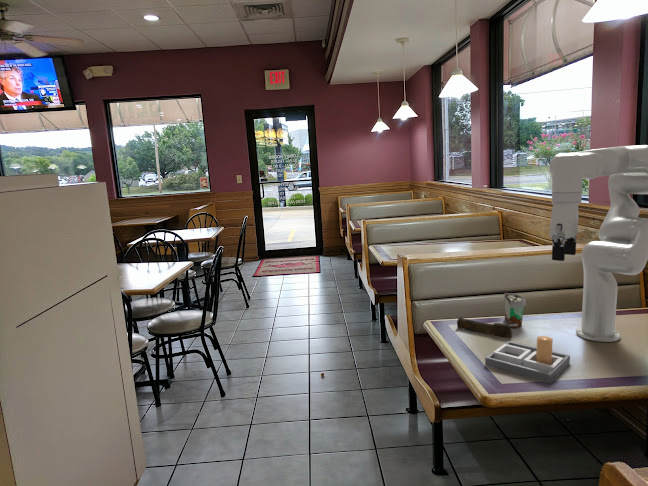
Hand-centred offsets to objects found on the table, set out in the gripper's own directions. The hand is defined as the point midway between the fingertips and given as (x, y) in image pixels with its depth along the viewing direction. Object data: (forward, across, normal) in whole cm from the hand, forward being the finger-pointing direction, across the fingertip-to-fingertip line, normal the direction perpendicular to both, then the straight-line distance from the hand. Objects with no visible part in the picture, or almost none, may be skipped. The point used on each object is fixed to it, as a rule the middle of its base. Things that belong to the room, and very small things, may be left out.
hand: (563, 257), depth 136 cm
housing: (+30, +12, -5) cm, 33 cm away
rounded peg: (+29, +12, 0) cm, 32 cm away
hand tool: (+31, -5, -26) cm, 41 cm away
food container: (+31, -19, -21) cm, 42 cm away
